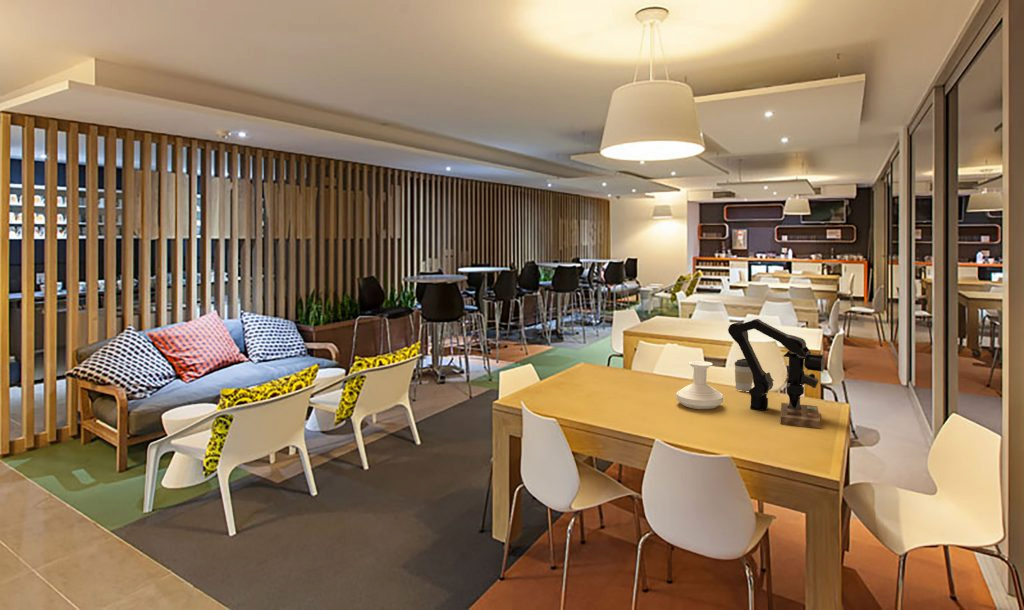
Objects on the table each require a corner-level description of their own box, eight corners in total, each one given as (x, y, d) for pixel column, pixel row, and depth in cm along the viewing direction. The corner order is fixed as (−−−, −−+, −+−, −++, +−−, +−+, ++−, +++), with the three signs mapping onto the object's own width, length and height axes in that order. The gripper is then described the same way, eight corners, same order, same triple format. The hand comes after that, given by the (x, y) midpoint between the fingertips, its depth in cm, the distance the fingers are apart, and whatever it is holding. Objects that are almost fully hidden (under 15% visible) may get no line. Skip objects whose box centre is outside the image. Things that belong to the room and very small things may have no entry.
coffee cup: (754, 393, 282) (755, 362, 281) (733, 391, 285) (734, 361, 284) (752, 388, 291) (754, 358, 289) (733, 387, 294) (734, 357, 292)
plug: (788, 415, 247) (789, 395, 246) (788, 412, 251) (789, 393, 250) (799, 416, 246) (800, 396, 245) (799, 413, 249) (800, 394, 248)
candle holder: (706, 415, 249) (707, 370, 246) (666, 405, 264) (667, 362, 262) (732, 406, 261) (733, 363, 259) (692, 397, 277) (693, 356, 274)
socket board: (780, 423, 236) (780, 415, 236) (781, 409, 256) (781, 401, 255) (819, 428, 230) (820, 419, 230) (817, 413, 250) (817, 404, 250)
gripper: (818, 374, 234) (816, 413, 236) (816, 365, 251) (814, 401, 253) (787, 372, 239) (786, 409, 241) (787, 363, 256) (786, 398, 258)
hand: (794, 404), depth 248 cm, fingers open, 9 cm apart
